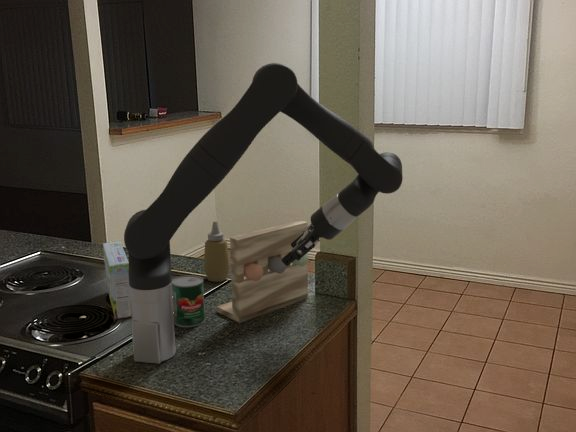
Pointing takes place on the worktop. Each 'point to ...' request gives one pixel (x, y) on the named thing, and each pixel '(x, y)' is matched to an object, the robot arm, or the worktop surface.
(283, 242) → the button panel
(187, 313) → the canned tomato
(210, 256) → the squeeze bottle
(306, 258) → the sage button
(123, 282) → the snack box
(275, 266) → the grey button
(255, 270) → the terracotta button
